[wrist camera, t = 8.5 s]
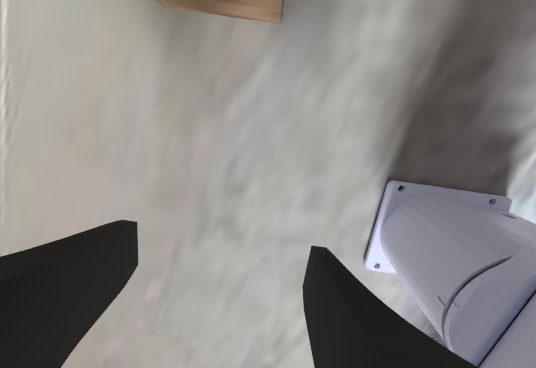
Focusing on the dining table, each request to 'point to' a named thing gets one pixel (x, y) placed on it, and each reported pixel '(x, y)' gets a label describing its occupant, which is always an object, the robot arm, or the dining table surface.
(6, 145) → the dining table surface
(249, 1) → the brown square slab
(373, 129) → the dining table surface
